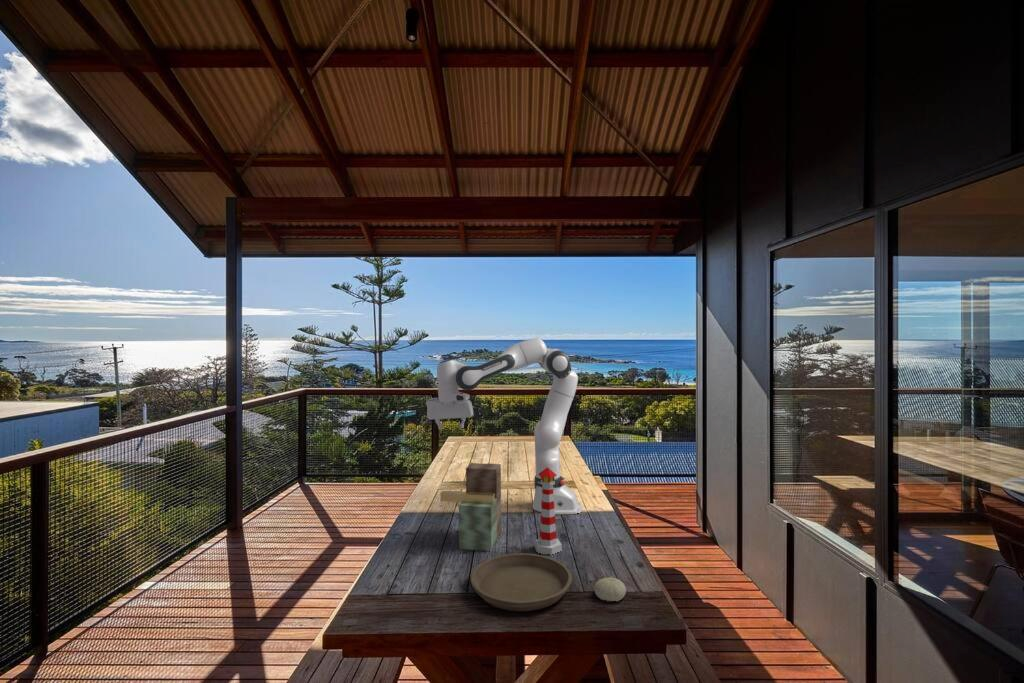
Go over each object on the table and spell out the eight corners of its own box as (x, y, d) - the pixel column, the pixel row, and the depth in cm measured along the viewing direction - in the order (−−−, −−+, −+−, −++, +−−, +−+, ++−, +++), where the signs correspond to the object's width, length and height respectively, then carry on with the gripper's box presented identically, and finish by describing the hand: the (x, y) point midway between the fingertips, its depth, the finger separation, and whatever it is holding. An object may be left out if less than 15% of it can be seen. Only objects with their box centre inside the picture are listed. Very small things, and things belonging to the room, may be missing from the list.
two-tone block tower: (501, 532, 204) (500, 464, 203) (491, 551, 186) (490, 476, 186) (471, 530, 206) (471, 463, 205) (459, 548, 188) (458, 475, 188)
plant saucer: (540, 628, 137) (540, 611, 137) (449, 597, 154) (449, 582, 154) (588, 580, 164) (588, 566, 164) (505, 559, 180) (505, 545, 180)
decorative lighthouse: (564, 546, 190) (564, 465, 189) (558, 556, 181) (558, 471, 181) (537, 542, 193) (537, 463, 193) (530, 552, 185) (530, 469, 184)
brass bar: (494, 501, 192) (494, 493, 192) (492, 503, 189) (492, 495, 189) (443, 498, 196) (442, 490, 196) (440, 501, 193) (440, 493, 193)
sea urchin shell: (588, 583, 158) (606, 564, 158) (606, 600, 158) (624, 581, 159) (595, 598, 149) (614, 577, 149) (614, 616, 149) (633, 596, 150)
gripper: (423, 399, 222) (425, 431, 222) (469, 396, 219) (471, 428, 219) (428, 397, 229) (430, 428, 229) (473, 394, 225) (475, 426, 225)
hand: (451, 428), depth 224 cm, fingers open, 8 cm apart
